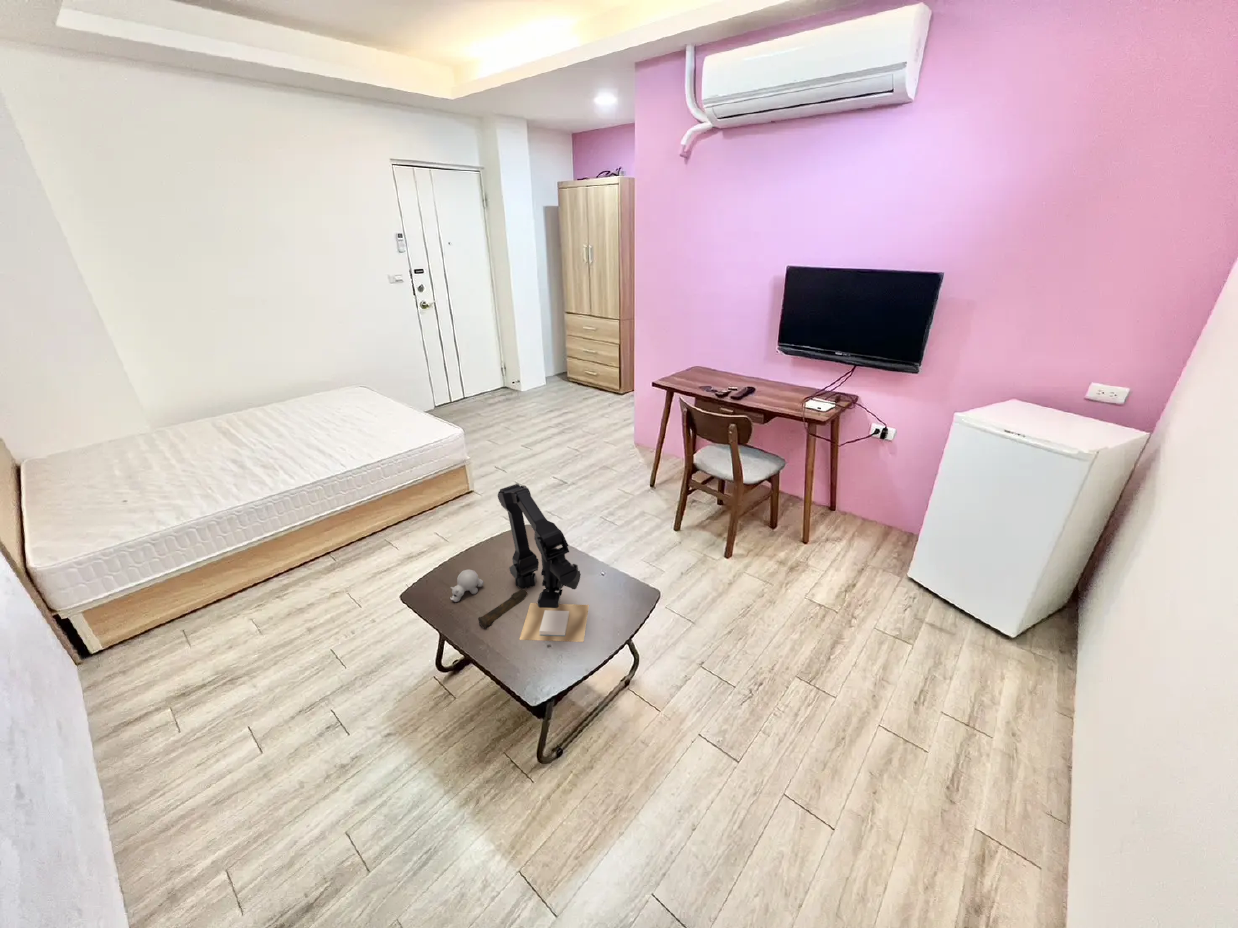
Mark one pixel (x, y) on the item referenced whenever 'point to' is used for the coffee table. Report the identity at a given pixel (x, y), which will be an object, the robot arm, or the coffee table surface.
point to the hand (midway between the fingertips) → (554, 604)
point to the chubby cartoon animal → (466, 584)
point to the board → (574, 625)
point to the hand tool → (502, 608)
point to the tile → (554, 623)
